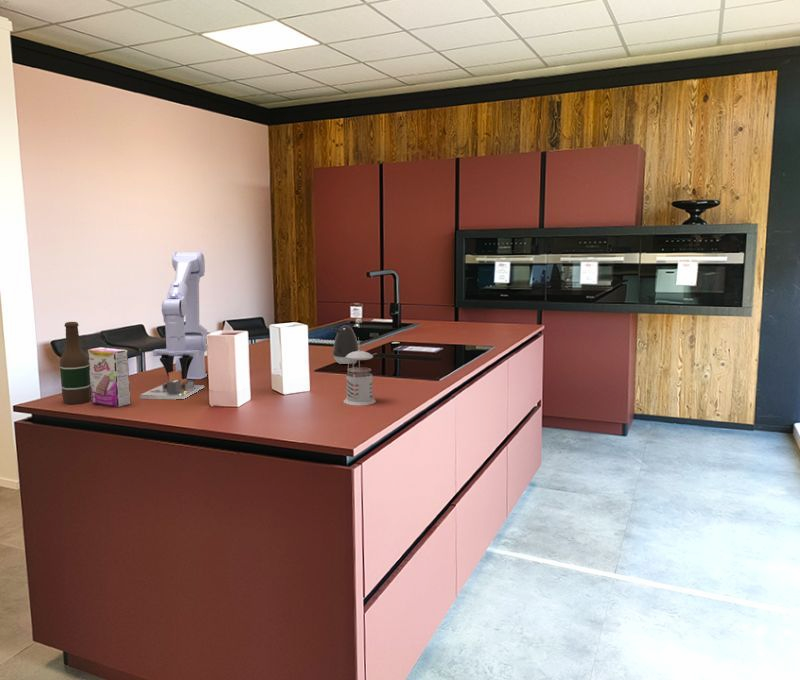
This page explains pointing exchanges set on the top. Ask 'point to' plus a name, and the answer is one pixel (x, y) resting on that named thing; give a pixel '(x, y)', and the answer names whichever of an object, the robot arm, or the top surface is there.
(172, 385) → the breaker
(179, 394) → the breaker panel
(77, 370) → the beer bottle
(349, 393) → the french press
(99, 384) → the candy bar box
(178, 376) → the lockout cap
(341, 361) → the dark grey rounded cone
